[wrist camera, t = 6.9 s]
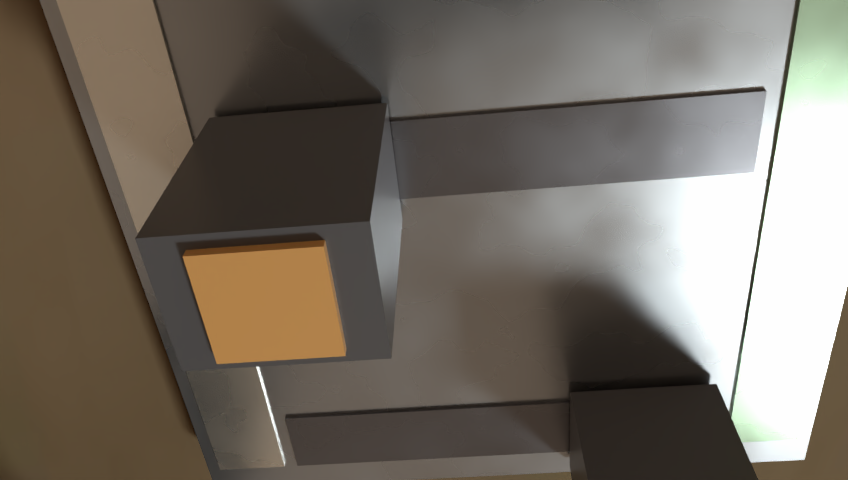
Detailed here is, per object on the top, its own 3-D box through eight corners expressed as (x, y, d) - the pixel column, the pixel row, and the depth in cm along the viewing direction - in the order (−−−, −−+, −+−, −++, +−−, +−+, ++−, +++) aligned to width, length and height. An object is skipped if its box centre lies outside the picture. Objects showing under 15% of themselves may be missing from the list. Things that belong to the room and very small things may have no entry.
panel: (226, 455, 25) (215, 492, 24) (-89, -477, 13) (-145, -501, 12) (786, 424, 24) (805, 462, 23) (1019, -632, 12) (1087, -675, 11)
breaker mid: (239, 230, 19) (178, 378, 14) (209, 117, 17) (131, 244, 13) (402, 219, 19) (390, 366, 14) (387, 102, 17) (369, 227, 13)
